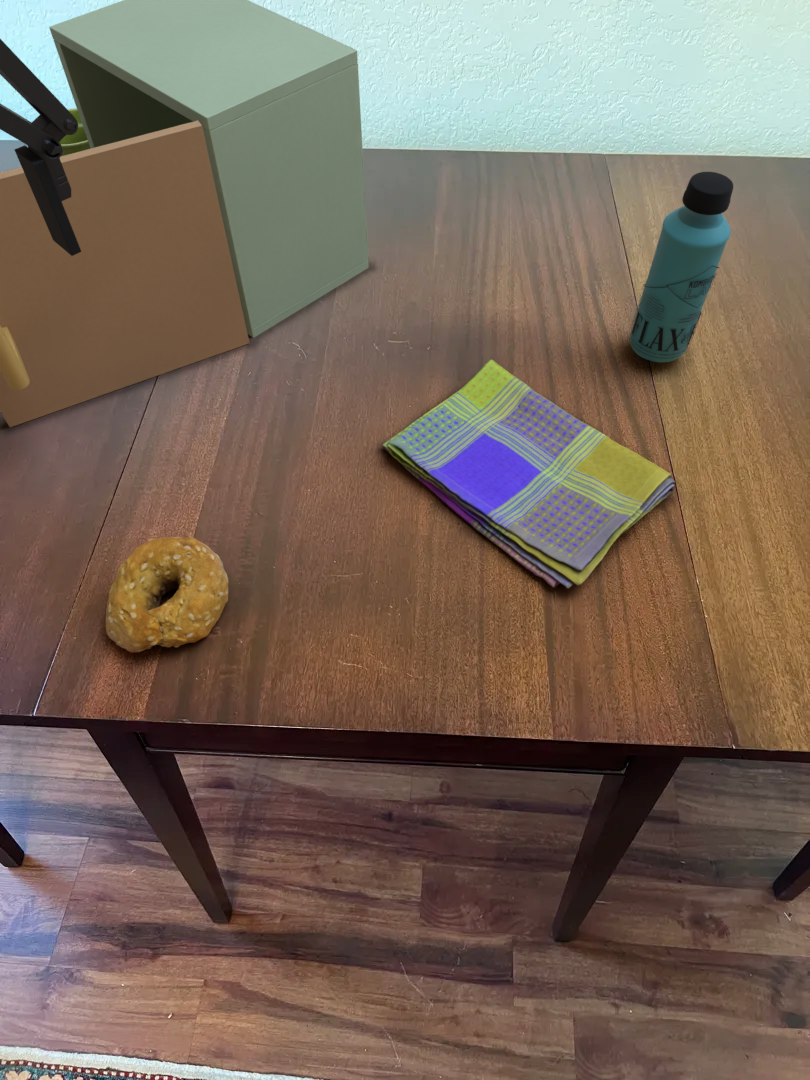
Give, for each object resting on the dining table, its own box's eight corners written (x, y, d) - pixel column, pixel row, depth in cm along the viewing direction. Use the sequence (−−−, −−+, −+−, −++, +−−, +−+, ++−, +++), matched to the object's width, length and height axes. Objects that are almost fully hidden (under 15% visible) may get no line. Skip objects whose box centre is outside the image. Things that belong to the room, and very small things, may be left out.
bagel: (85, 607, 68) (65, 578, 64) (192, 537, 72) (179, 506, 68) (146, 685, 63) (128, 659, 59) (256, 606, 68) (246, 577, 64)
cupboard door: (274, 381, 84) (231, 162, 64) (25, 472, 76) (-110, 258, 57) (246, 338, 88) (197, 120, 68) (7, 421, 80) (-124, 204, 61)
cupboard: (253, 338, 88) (206, 117, 68) (122, 241, 99) (48, 26, 79) (369, 268, 95) (357, 49, 75) (235, 184, 106) (193, -26, 86)
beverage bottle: (612, 354, 86) (659, 181, 69) (647, 326, 88) (700, 152, 72) (662, 383, 83) (723, 210, 67) (697, 353, 86) (764, 179, 69)
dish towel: (494, 368, 85) (496, 349, 82) (684, 494, 74) (692, 475, 72) (376, 454, 78) (375, 434, 75) (567, 605, 67) (572, 588, 65)
